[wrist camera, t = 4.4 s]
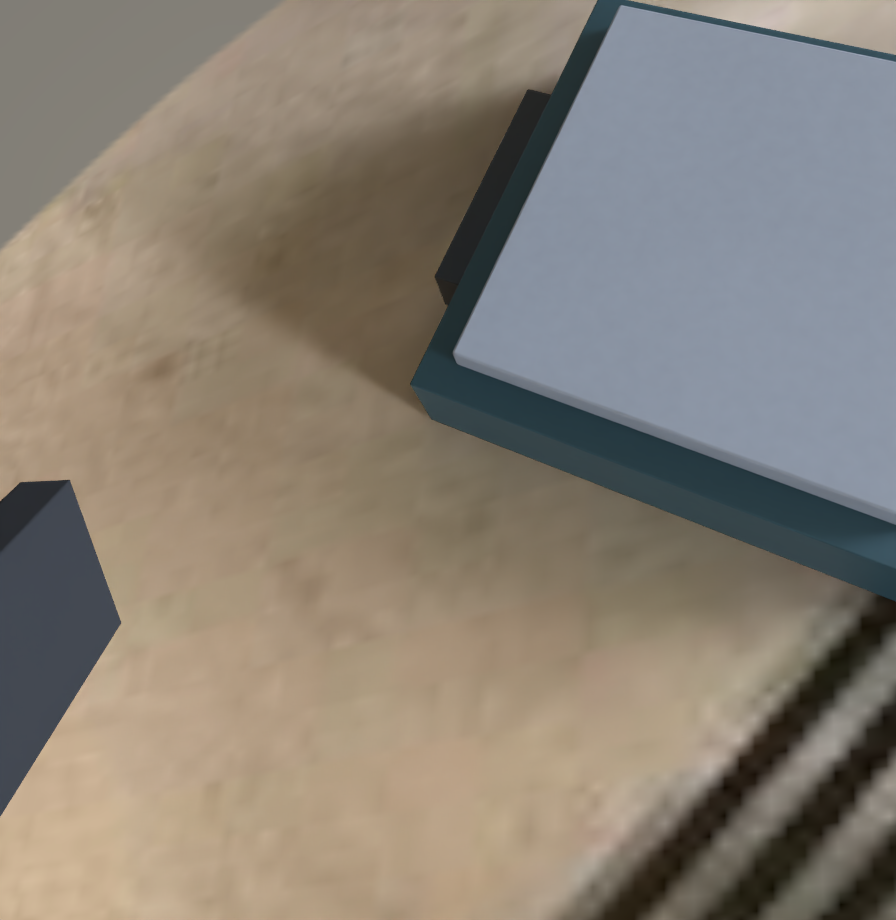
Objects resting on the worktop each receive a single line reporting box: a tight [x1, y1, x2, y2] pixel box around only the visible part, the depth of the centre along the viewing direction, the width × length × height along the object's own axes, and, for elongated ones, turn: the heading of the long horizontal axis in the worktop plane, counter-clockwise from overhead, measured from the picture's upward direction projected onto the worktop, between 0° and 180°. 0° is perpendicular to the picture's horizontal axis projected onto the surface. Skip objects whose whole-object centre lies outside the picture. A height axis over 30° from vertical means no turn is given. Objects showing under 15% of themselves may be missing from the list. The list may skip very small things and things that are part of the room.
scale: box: [410, 0, 896, 601], centre depth 22 cm, size 15×14×4 cm
